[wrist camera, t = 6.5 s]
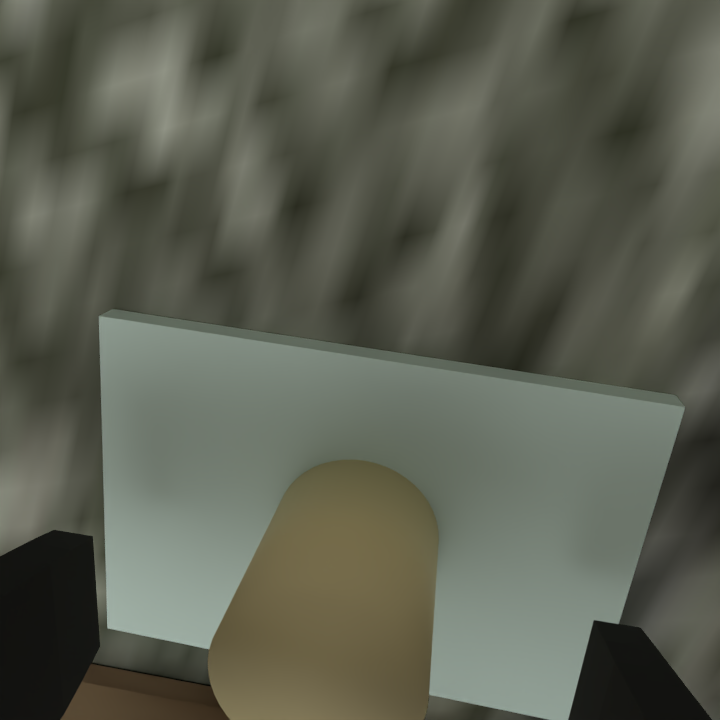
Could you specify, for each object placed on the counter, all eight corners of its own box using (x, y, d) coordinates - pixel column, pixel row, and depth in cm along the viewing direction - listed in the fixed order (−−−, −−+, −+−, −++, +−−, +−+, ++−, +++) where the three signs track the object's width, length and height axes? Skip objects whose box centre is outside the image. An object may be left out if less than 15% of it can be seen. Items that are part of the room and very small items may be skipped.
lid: (666, 384, 11) (788, 535, 7) (578, 686, 14) (628, 933, 9) (126, 301, 12) (-50, 390, 8) (130, 596, 15) (-5, 784, 10)
